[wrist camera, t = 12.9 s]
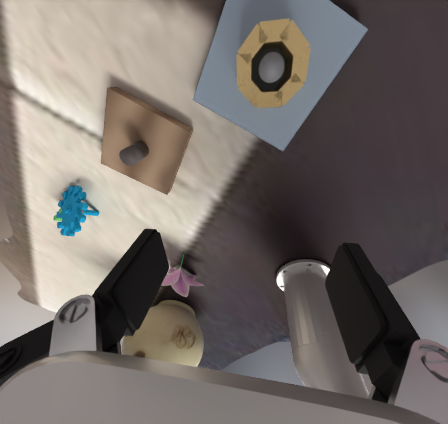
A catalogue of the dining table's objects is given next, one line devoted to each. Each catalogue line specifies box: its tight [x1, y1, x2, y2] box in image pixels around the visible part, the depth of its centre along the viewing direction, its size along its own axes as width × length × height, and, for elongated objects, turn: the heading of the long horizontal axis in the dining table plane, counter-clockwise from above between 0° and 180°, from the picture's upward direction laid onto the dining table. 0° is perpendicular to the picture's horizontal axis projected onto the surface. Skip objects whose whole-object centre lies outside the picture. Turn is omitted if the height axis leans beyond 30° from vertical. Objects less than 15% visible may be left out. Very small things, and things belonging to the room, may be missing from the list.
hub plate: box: [193, 0, 368, 151], centre depth 21 cm, size 14×14×6 cm
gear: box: [54, 186, 99, 236], centre depth 40 cm, size 11×6×10 cm
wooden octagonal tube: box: [236, 18, 311, 108], centre depth 20 cm, size 7×7×5 cm
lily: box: [161, 252, 204, 297], centre depth 45 cm, size 12×12×10 cm
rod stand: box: [101, 87, 193, 195], centre depth 29 cm, size 12×12×6 cm
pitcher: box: [122, 300, 204, 367], centre depth 53 cm, size 22×24×25 cm
